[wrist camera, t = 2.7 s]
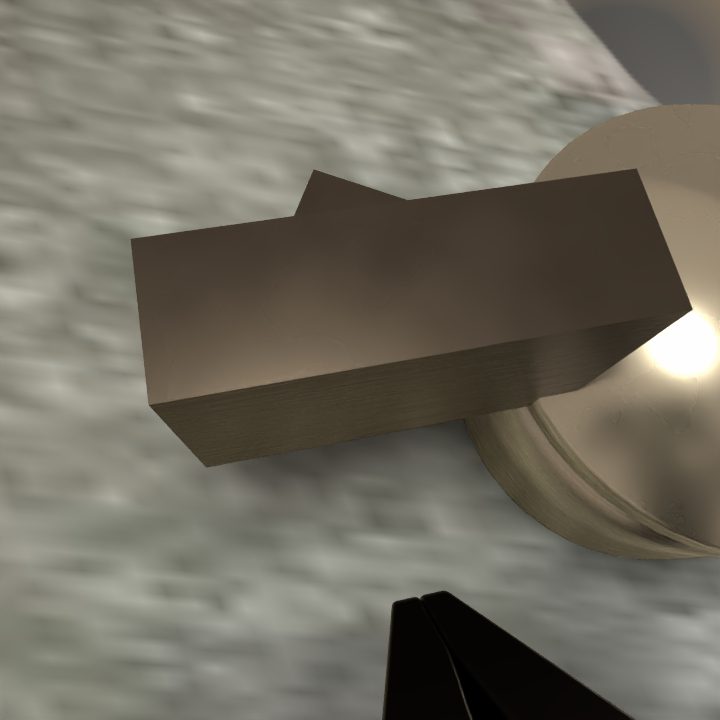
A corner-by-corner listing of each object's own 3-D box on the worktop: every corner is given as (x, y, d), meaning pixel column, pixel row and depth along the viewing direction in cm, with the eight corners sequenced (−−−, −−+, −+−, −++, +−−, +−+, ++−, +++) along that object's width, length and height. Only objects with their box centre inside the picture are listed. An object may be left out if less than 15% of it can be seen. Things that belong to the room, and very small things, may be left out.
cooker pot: (804, 288, 26) (941, 208, 21) (773, 612, 22) (935, 623, 16) (354, 142, 27) (367, 26, 21) (239, 428, 23) (215, 378, 17)
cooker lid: (829, 103, 21) (1025, -76, 16) (1040, 503, 17) (1414, 465, 11) (170, 189, 18) (106, 7, 13) (237, 695, 14) (188, 776, 8)
